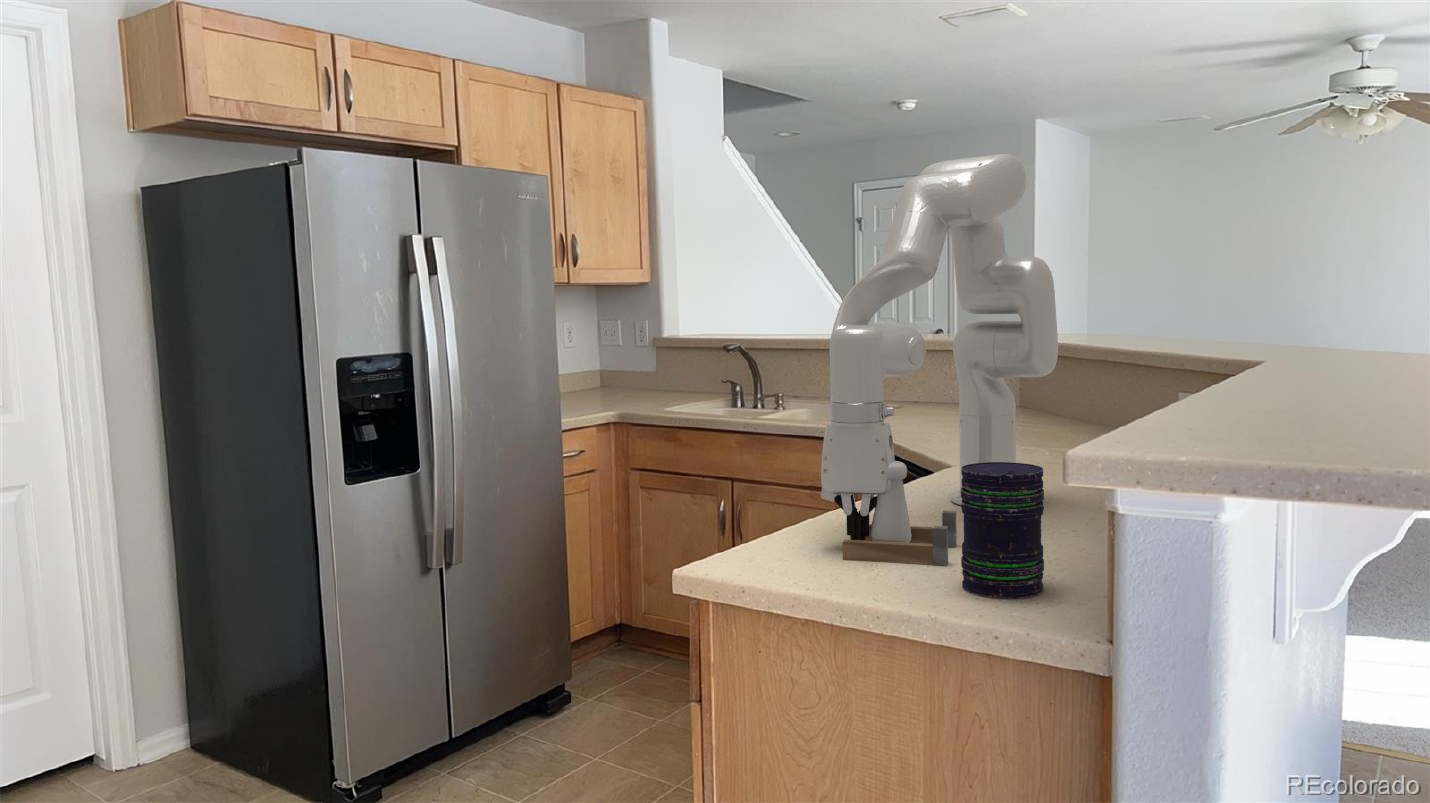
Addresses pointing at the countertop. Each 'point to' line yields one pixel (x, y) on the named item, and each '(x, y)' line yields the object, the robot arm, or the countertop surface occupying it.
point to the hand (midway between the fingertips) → (858, 540)
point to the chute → (909, 545)
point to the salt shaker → (892, 509)
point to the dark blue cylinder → (1002, 530)
